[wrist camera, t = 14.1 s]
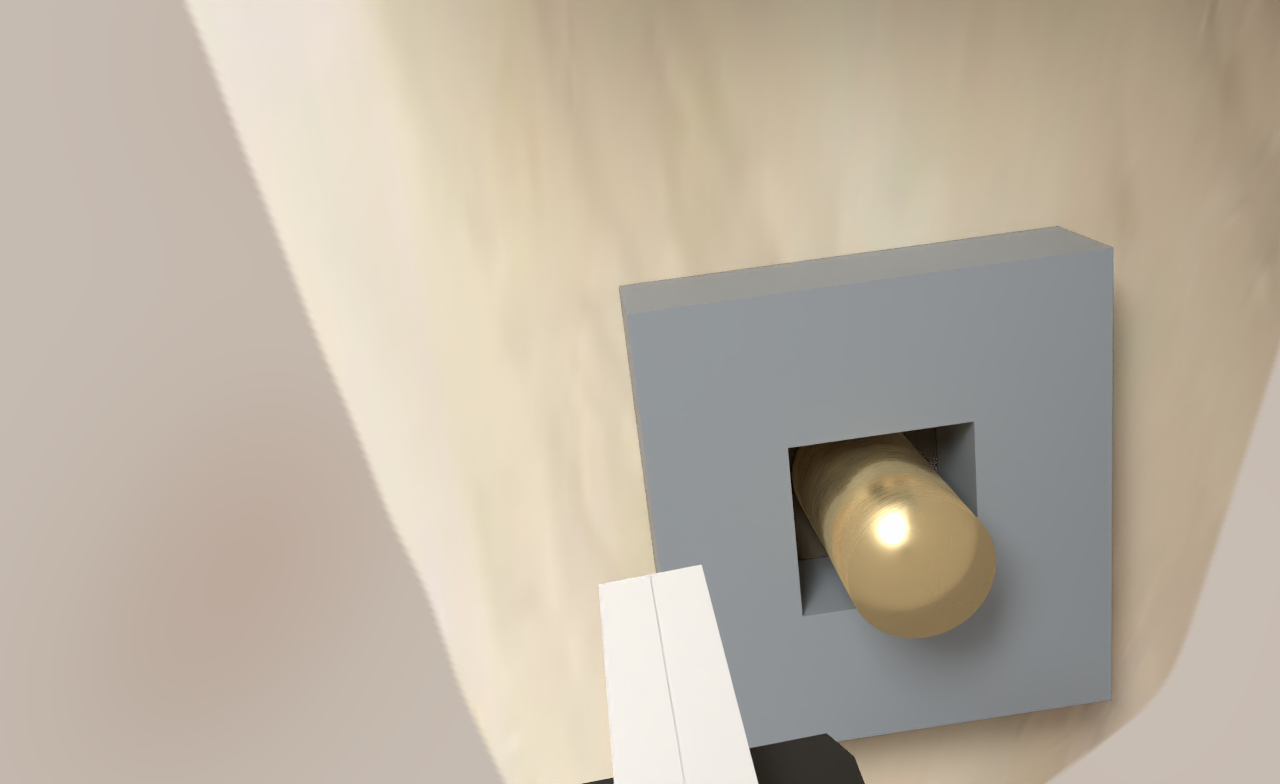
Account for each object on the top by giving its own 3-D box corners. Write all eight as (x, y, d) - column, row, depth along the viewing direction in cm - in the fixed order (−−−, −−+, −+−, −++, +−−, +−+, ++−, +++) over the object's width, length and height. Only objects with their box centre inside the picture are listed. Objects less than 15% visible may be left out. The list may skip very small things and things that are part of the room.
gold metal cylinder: (786, 422, 41) (842, 513, 33) (909, 404, 41) (993, 490, 33) (797, 536, 42) (853, 648, 34) (917, 517, 42) (999, 626, 35)
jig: (618, 286, 39) (626, 314, 35) (1057, 226, 39) (1112, 247, 35) (672, 700, 44) (684, 764, 40) (1062, 641, 44) (1111, 699, 40)
